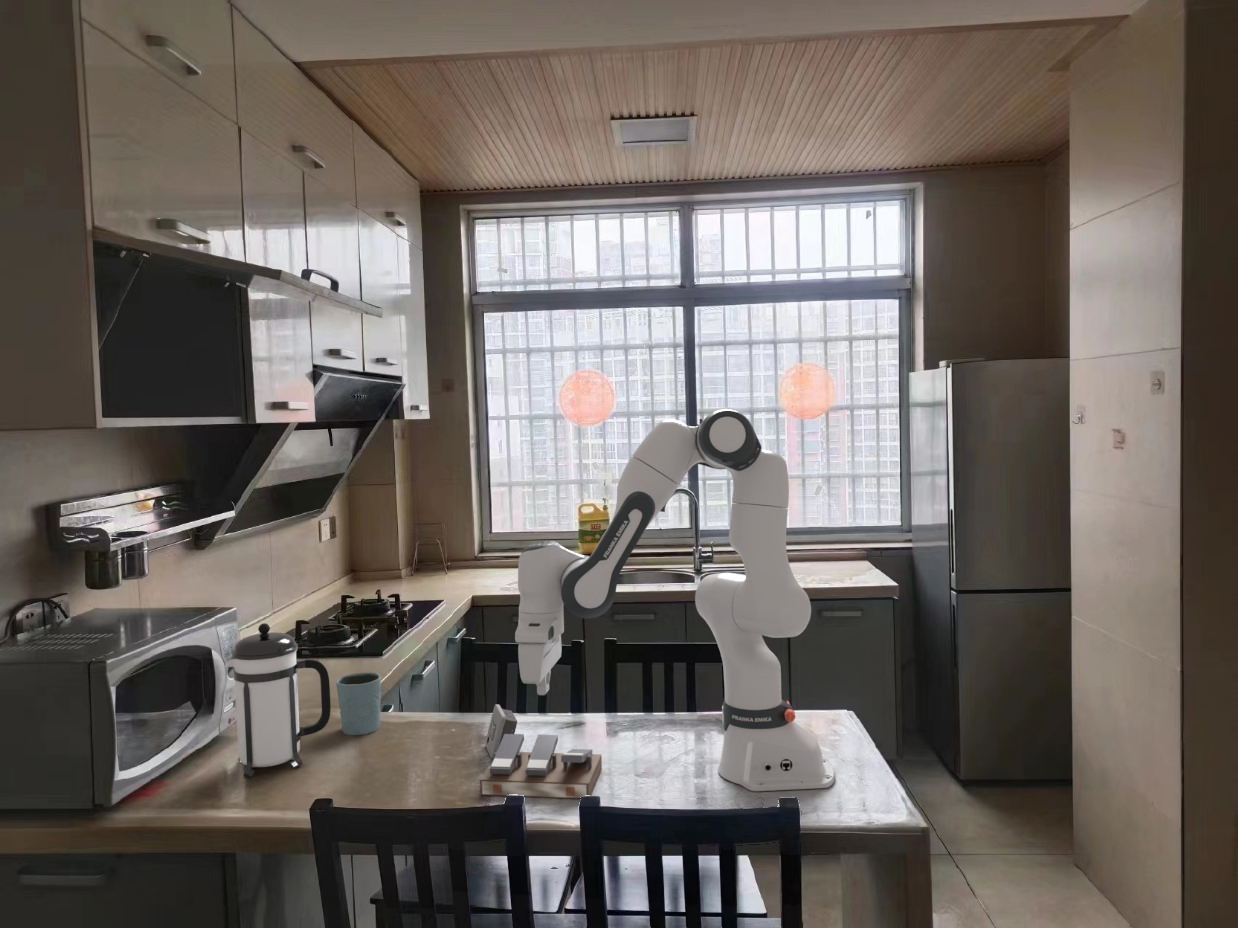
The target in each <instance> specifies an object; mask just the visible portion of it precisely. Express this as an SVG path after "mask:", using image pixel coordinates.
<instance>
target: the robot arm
mask: <svg viewBox="0 0 1238 928" xmlns="http://www.w3.org/2000/svg"><path fill="white" fill-rule="evenodd" d="M696 464H697V465H701V466H704V467H709V468H711V469H715V470H727V471H728V472H729V473H730V475H731V477H732V478H731V479H732V484H733V485H732V487H733V488H732V489H733V490H732V497H731V499H732V500H731V508H730V509H731V510H730V520H729V531H728V541H729V542H728V543H729V544H730V546H731V548H732V549H733V550H734V551H735V552H736V553H737V554H738V556H739V557H740V558H741V561H742V562H743V567H744V574H742V573H734V572H720V573H712V574H708V575H706V576H704V577H703V578H702V579H701V581H700V582H699V584H698V586H697V588H696V590H695V596H694V601H695V603H694V604H695V608H696V611H697V612H698V614H699V616H700V617H701V618H702V619H703V620H704V622H706V624H707V625H708V627H709V628H710V630H711V632H712V634H713V637H714V638H715V641H716V643H717V647H718V649H719V652H720V657H721V661H722V666H723V681H724V682H723V683H724V684H723V685H724V698H723V700H722V706H721V711H722V712H721V713H722V715H721V717H722V719H721V721H722V726H723V730H724V733H723V744H722V752H721V757H720V761H719V764H718V768H717V771H718V774H719V775H720V776H721V777H722V778H723V779H725V780H727V781H729V782H732V783H735V784H737V785H740V786H742V787H743V788H746V789H747V790H749V791H751V792H766V791H767V792H768V791H770V792H771V791H789V790H790V791H791V790H809V789H811V790H812V789H813V790H814V789H828V788H829V787H831V786H832V785H833V784H834V782H835V778H836V777H835V776H836V775H835V769H834V765H833V764H832V763H831V762H830V761H829V760H828V759H827V758H826V757H824V756H823V752H822V749H821V746H820V744H819V742H818V740H817V738H816V737H815V736H814V735H813V733H811V732H810V731H808V730H806V729H805V728H804V727H802V726H801V725H800V724H799V723H797V722H796V721H795V720H796V712H795V710H793V707H792V705H791V704H790V702H789V700H786V701H785V700H783V699H782V671H781V670H782V669H781V667H782V666H781V663H780V661H779V659H778V657H777V656H776V655H775V653H774V652H772V651H771V650H770V648H769V647H768V645H767V644H766V642H765V640H764V638H763V636H765V637H769V638H773V639H774V638H794V637H797V636H799V635H801V633H803V632H804V631H805V629H806V628H807V626H808V624H810V620H811V617H812V616H811V615H812V605H811V604H812V603H811V601H810V597H809V596H808V593H807V592H806V591H805V590H804V589H803V588H802V586H801V585H800V584H799V582H798V581H797V579H796V577H795V576H794V574H793V573H794V572H793V570H792V568H791V565H790V562H789V558H788V552H787V530H788V529H787V526H788V513H789V512H788V511H789V499H790V497H789V495H790V493H789V492H790V489H789V488H790V487H789V485H790V484H789V483H790V482H789V472H788V465H787V464H788V463H787V462H786V460H785V459H784V457H782V456H781V455H780V454H779V453H777V452H775V451H772V450H769V449H762V445H761V441H760V440H759V438H758V435H757V433H756V431H755V428H754V427H753V424H752V423H751V421H750V420H749V419H748V418H747V417H746V415H744V414H743V413H741V412H740V411H737V410H734V409H731V408H723V409H717V410H715V411H712V412H711V413H710V414H709V415H707V416H706V417H705V418H704V419H703V420H702V422H701V423H700V424H698V425H696V426H690V425H687V424H686V422H685V423H684V422H682V421H680V420H677V419H672V418H670V419H669V418H667V419H664V420H662V421H660V422H658V423H657V425H655V426H654V427H653V429H652V430H651V431H650V432H649V433H648V434H647V435H646V436H645V437H644V439H643V440H642V442H641V443H640V444H639V445H638V447H637V448H636V450H635V451H634V453H633V454H632V455H631V457H630V459H629V460H628V462H627V463H626V465H625V467H624V469H623V472H622V473H621V475H620V478H619V480H618V483H617V486H616V505H615V506H616V507H615V510H614V514H613V516H612V519H611V521H610V523H609V525H608V526H607V528H606V530H605V532H604V533H603V535H602V537H601V538H600V540H599V542H598V543H597V545H596V546H595V548H594V550H593V551H592V553H591V554H590V556H589V555H586V554H585V555H584V554H581V553H578V552H574V551H572V550H570V549H568V548H566V547H565V546H562V545H561V544H560V543H559V542H557V541H555V540H545V541H539V542H535V543H532V544H529V545H527V546H526V547H525V548H524V549H523V550H522V551H521V553H520V554H519V557H518V567H517V589H518V592H519V597H520V599H519V600H520V601H519V606H518V621H517V622H518V625H517V627H516V630H515V633H514V639H515V643H518V648H517V653H518V654H517V655H518V665H519V667H518V668H519V674H520V675H519V676H520V679H521V682H522V683H523V684H527V685H528V684H530V685H532V684H533V685H536V693H537V695H538V696H546V695H547V694H548V692H549V690H550V680H551V673H552V671H551V669H552V668H554V666H555V664H557V662H558V661H559V660H560V658H561V657H562V634H563V633H564V632H565V625H564V624H565V619H564V618H565V616H564V615H565V614H564V613H565V612H564V607H565V608H566V610H567V611H568V612H570V613H571V614H572V615H574V616H576V617H578V618H581V619H595V618H598V617H601V616H602V615H604V614H605V613H606V612H608V610H610V608H611V606H612V605H613V604H614V601H615V598H616V594H617V593H616V592H617V586H618V585H617V584H618V579H619V577H620V575H621V571H622V569H623V568H624V566H625V564H626V563H627V561H628V559H629V558H630V556H631V554H632V553H633V550H635V547H636V546H637V544H638V542H639V541H640V539H641V537H642V536H643V534H644V532H645V531H646V529H647V528H648V526H649V525H650V524H651V523H652V521H653V520H654V519H655V518H656V517H657V516H658V514H659V513H660V512H661V511H662V510H663V508H664V507H665V506H666V504H668V502H669V501H670V500H671V498H672V496H673V495H674V493H675V492H676V491H677V489H678V487H679V486H680V484H681V483H682V481H683V479H684V478H685V476H686V475H687V473H689V471H690V470H691V468H692V467H693V466H695V465H696Z"/></svg>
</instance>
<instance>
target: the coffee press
mask: <svg viewBox="0 0 1238 928" xmlns="http://www.w3.org/2000/svg"><path fill="white" fill-rule="evenodd" d="M257 628H258V632H259V633H256V634H252V635H249V636H248V635H247V636H246V637H242V639H240V640H238V641H237V642H236V644H235V645H234V647H233V650H232V651H231V655H230V657H229V658H228V659H227V661H226V662H225V665H224V668H233V671H232V672H233V674H232V675H233V680H234V687H235V689H234V690H235V705H236V708H235V709H236V727H237V730H236V731H237V745H238V747H237V749H238V762H239V763H240V764H243V765H245V767H244V770H243V774H242V775H243V778H249V779H250V778H253V777H254V775H255V773H256V771H257V769H260V768H267V767H273V766H277V765H281V764H284V763H289V764H290V765H291V767H293V768H294V769H298V768H299V767H301V766H303V763H304V762H303V760H302V759H301V757H300V755H299V753H300V749H301V739H302V738H301V737H304V736H309V735H312V734H315V733H318V732H320V731H322V730H323V729H324V728H325V727H326V726H327V724H329V723H328V722H329V720H330V717H331V716H330V715H331V706H332V705H331V686H330V678H329V672H328V670H327V667H326V666H325V665H324V664H323V662H320V661H319V660H317V659H311V658H309V659H308V658H307V659H306V658H305V659H303V660H299V661H297V651H298V649H299V648H298V643H297V642H296V640H295V639H294V638H293V636H291V635H289V634H287V633H285V632H284V633H283V632H275V631H274V632H269V631H270V630H271V627H270V625H269V624H268V623H261V624H260V625H259V626H258V627H257ZM300 669H314V670H316V672H318V674H319V678H320V679H319V680H320V700H321V703H320V704H321V713H320V714H321V715H320V717H319V719H318V720H317V722H315V723H314V724H311V725H307V726H300V715H299V714H300V713H299V711H300V710H299V690H298V689H299V688H298V671H299V670H300Z"/></svg>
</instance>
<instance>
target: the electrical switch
mask: <svg viewBox="0 0 1238 928" xmlns="http://www.w3.org/2000/svg"><path fill="white" fill-rule="evenodd" d="M517 725H518V720H517V718H516V716H515V715H514V712H513V711H512V710H511V709H510V710H509V709H504V708H502V707H501V705H500V704H494V707H493V711H492V713H491V718H490V722H489V726H488V730H487V734H486V739H485V743H484V746H485V748H486V750H487V752H488V755H489V758H490V759H492V760H493V759H494V755H493V754H494V753H495V752H497V750H498V748H499V746H500V743H501V741H502V739H503V736H504V734H516V733H515V732H516V729H517Z"/></svg>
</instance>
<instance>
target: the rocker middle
mask: <svg viewBox="0 0 1238 928" xmlns="http://www.w3.org/2000/svg"><path fill="white" fill-rule="evenodd" d="M558 742H559V735H558V734H537V737H536V739H535V743H534V745H533V748H532V750H531V752H532V753H531V756H530V758H529V761H528V764H527V766H526V769H525V772H526V775H541V776H546V775H547V772H548V769H549V766H550V763H551V760H552V755H553V754H554V753H555V751H556V748H557V744H558Z"/></svg>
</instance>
